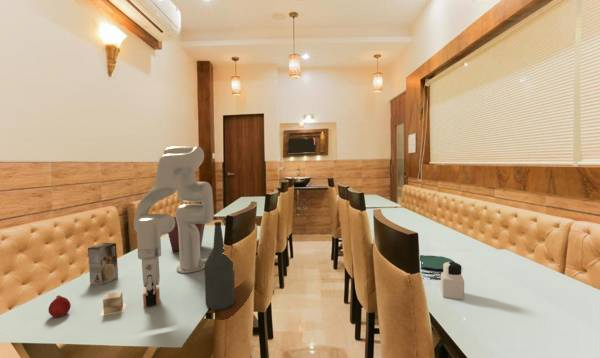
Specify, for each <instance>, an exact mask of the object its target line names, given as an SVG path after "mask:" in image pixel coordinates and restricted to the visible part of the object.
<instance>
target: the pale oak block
mask: <svg viewBox="0 0 600 358" xmlns="http://www.w3.org/2000/svg"><path fill="white" fill-rule="evenodd" d="M123 301H124V299H123V291H117V292H110V293H105V296H104V297H103V298H102V304H103V305H102V307H103V308H102V310H103V309H104V314H107V313H113V312H119V311H121V309H122V306H123V304H124V303H123Z"/></svg>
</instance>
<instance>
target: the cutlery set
mask: <svg viewBox="0 0 600 358" xmlns="http://www.w3.org/2000/svg"><path fill="white" fill-rule="evenodd" d="M420 261H421V268H422V269H427V270H432V271H429V272H430V273H429V274H431V272H432V273H436V272H433V271H439V272H437V273H438V274H433V275H435V276H434V277H431V278H430V279H429V280H432V279H435V280H440V279H441V277H440V276H441V273H443V272H442V271H443V264H444V263H446V262H455V261H454V260H453V259H451V258H449V257H446V256H441V255H440V256H437V255H425V254H424V255H423V254H422V255H421V254H420ZM422 262H423V264H422ZM421 268H420V269H421ZM440 271H441V272H440ZM422 272H423V271H421V272H420V273H421V274H423V273H422ZM439 274H440V275H439ZM433 275H432V276H433ZM422 279H424V278H422ZM424 280H425V279H424Z"/></svg>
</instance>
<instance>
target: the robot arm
mask: <svg viewBox="0 0 600 358" xmlns="http://www.w3.org/2000/svg"><path fill="white" fill-rule="evenodd" d="M204 159H205V152H204V150H203V148H201V147H200V146H197V145H195V146H194V145H193V146H192V145H189V146H188V145H187V146H184V145H183V146H181V145H180V146H178V145H177V146H170V147H166V148H165V149H164V150H163V155H161V156H160V158H159V160H158V163H157V168H156V173H155V178H154V182H153V183H154V184H153V187H152V188H151V189H150V190H149V191H148V192H147V193H146V194H145V195H143V196H142V198H141V200H140V201H139V202H138V204H137V206H136V209H135V212H134V213H135V214H134V219H133V228H134V229H133V230H134V231H135V232H136V241H137V243H136V244H137V245H136V246H137V259H138V260H141V270H142V271H141V273H142V282H143V283H142V284H143V287H144V288H146V306H148V307H153V305H154V306H157V305H156V293H155V287H157V286H159V285H160V280H161V277H160V276H161V275H160V274H161V273H160V257H161V256H162V245H161V244H162V243H161V241H162V240H161V236H162V235H166V234H168V233H169V232H171V231H172V230H173V229H174V227H175V219H174V217H176V220H177V224H178V233H179V253H178V254H179V265H178V266H177V267H176V272H178V273H182V274H189V273H196V272H200V271H201V270H203V269H204V264H205V262H206V260H207V258H204V259H203V258H202V257H201V248H200V234H199V230H198V228H197V227H196V226H195V224H205V225H206V224H210V223H212V222H213V220H214V217H215V216H214V214H215V213H214V212H215V211H214V195H213V188H212V186H211V183H209V182H207V181H197V180H196V173H195V171H197V169H199V167H200V166H201V165H202V164H203V162H204ZM175 193H176V194H177V198H178V200H179V201H180V202H185V204H180V205H179V206H177V208H176V209H175V216H173V215H172V214H169V213H149V211H150V209H152V207H153V206H154V205H156V203H157V202H159V201H161V200H164V199H166V198H168V197H170V196H172V195H174V194H175ZM186 202H187V203H186ZM191 202H193V203H191ZM194 202H195V203H194ZM198 202H199V203H198ZM152 287H153V289H152Z"/></svg>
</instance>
